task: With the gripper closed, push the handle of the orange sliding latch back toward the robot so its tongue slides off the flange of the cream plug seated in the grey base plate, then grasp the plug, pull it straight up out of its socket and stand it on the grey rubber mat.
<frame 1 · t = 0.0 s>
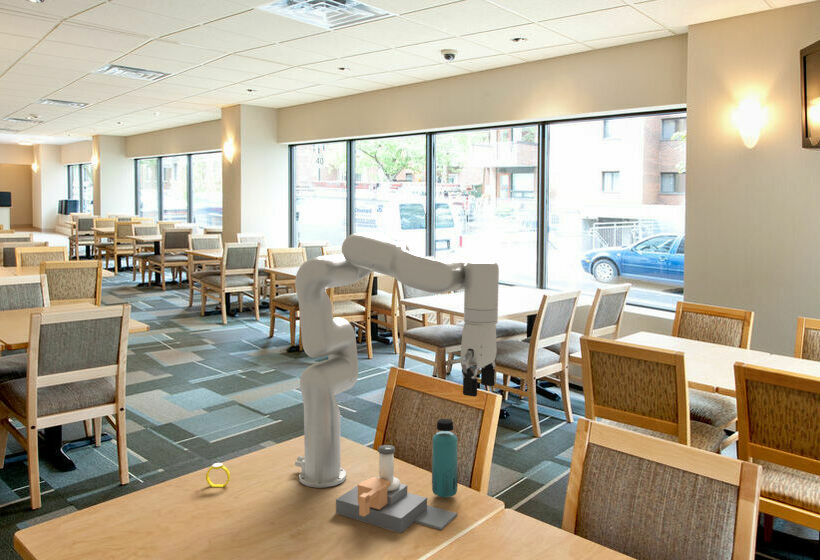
hand: (479, 390, 145), 31 cm above the table, tool pointing down, fingers open, 9 cm apart
grey base plate: (381, 512, 152), on the table
latch: (368, 495, 146), point 6 cm above the table, slide at 0.0 cm
beverage bottle: (444, 498, 160), on the table
mat: (434, 518, 149), on the table
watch: (218, 487, 165), on the table
plug: (386, 495, 153), point 3 cm above the table, touching grey base plate
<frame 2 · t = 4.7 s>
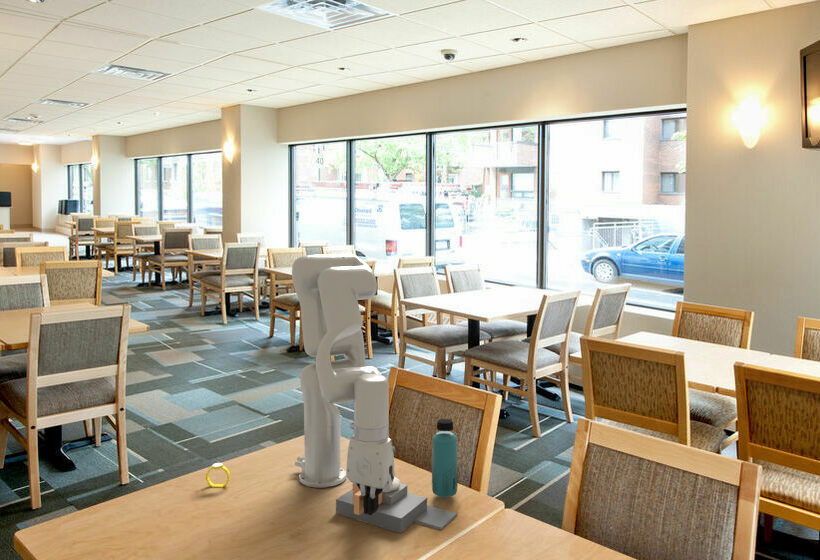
hand: (370, 511, 141), 5 cm above the table, tool pointing down, fingers closed
latch: (363, 494, 147), point 6 cm above the table, slide at 1.4 cm, touching gripper
everything else where it was.
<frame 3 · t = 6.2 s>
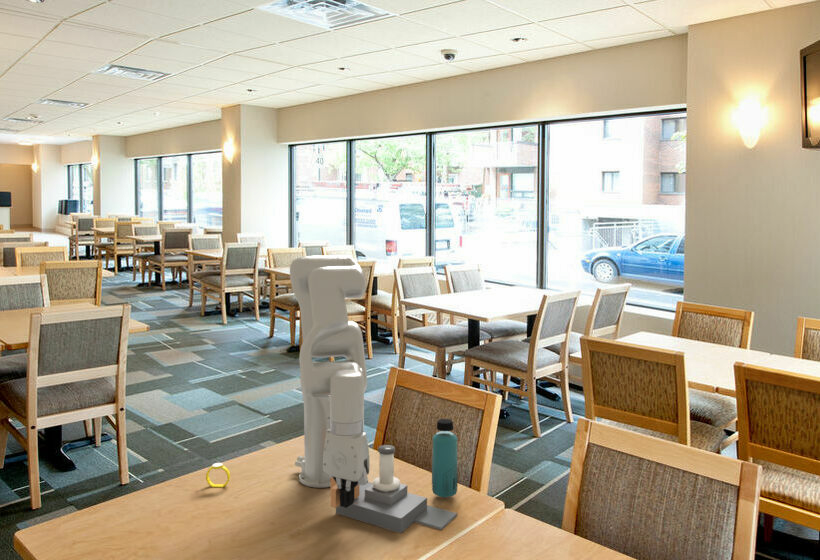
hand: (347, 504, 144), 5 cm above the table, tool pointing down, fingers closed
latch: (340, 488, 150), point 6 cm above the table, slide at 7.9 cm, touching gripper
everything else where it was.
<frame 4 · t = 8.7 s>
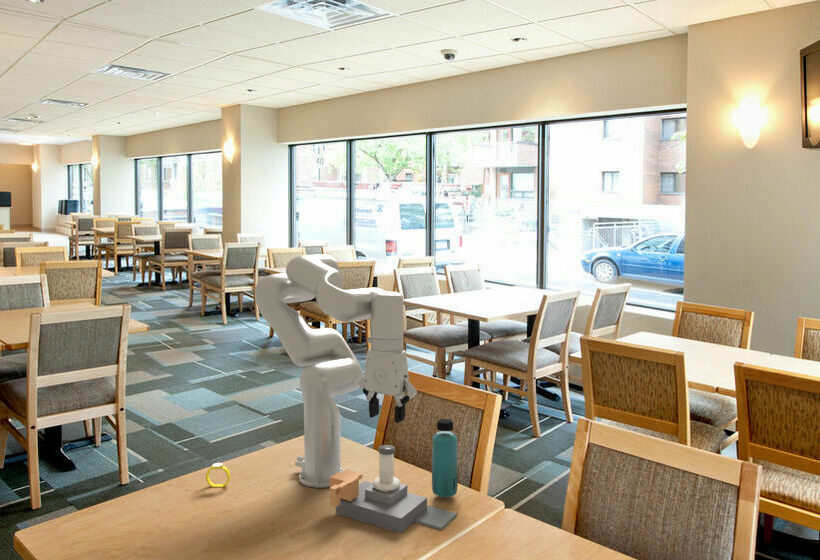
hand: (386, 418, 151), 23 cm above the table, tool pointing down, fingers open, 6 cm apart
latch: (340, 487, 150), point 6 cm above the table, slide at 8.1 cm
everything else where it was.
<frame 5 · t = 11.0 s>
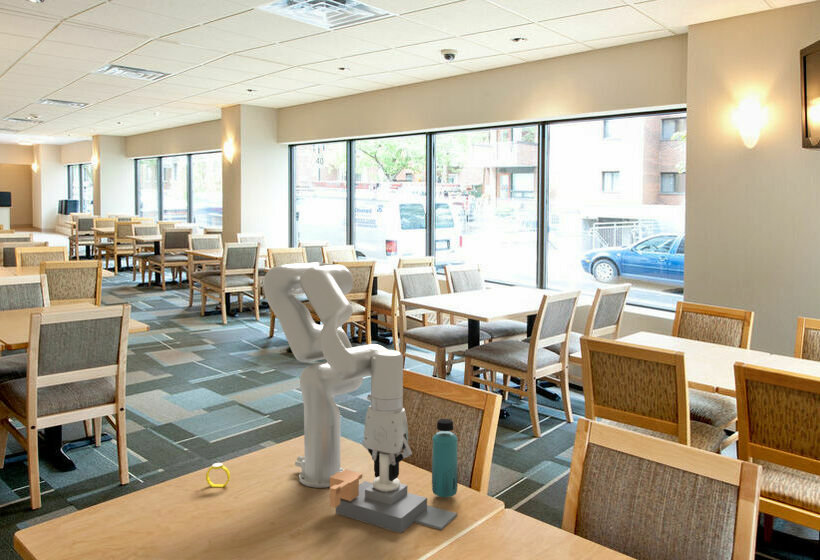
hand: (386, 476, 153), 8 cm above the table, tool pointing down, fingers closed on plug, 3 cm apart
plug: (386, 495, 153), point 3 cm above the table, touching gripper, grey base plate
everything else where it was.
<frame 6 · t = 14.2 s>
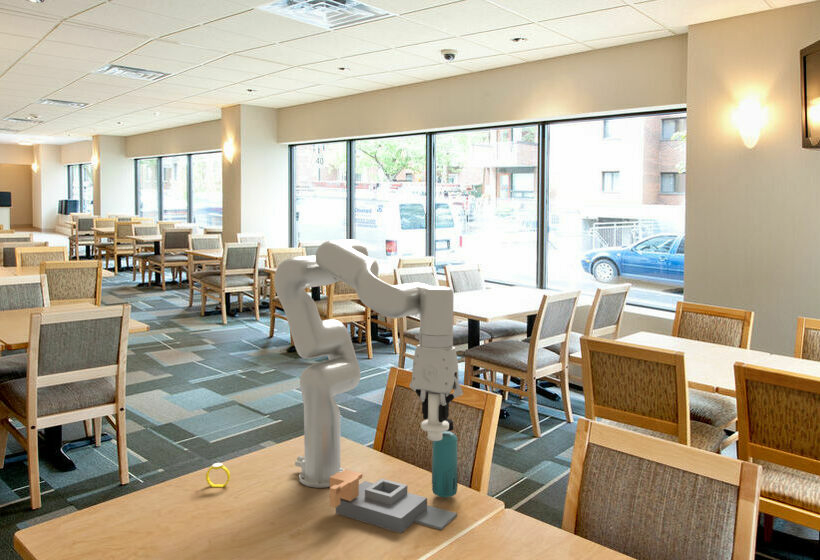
hand: (435, 418, 147), 24 cm above the table, tool pointing down, fingers closed on plug, 3 cm apart
plug: (435, 438, 147), point 19 cm above the table, touching gripper
everything else where it was.
when the fingers open (6 cm above the table, at t = 17.7 s): plug drops 1 cm, resting on mat, grey base plate.
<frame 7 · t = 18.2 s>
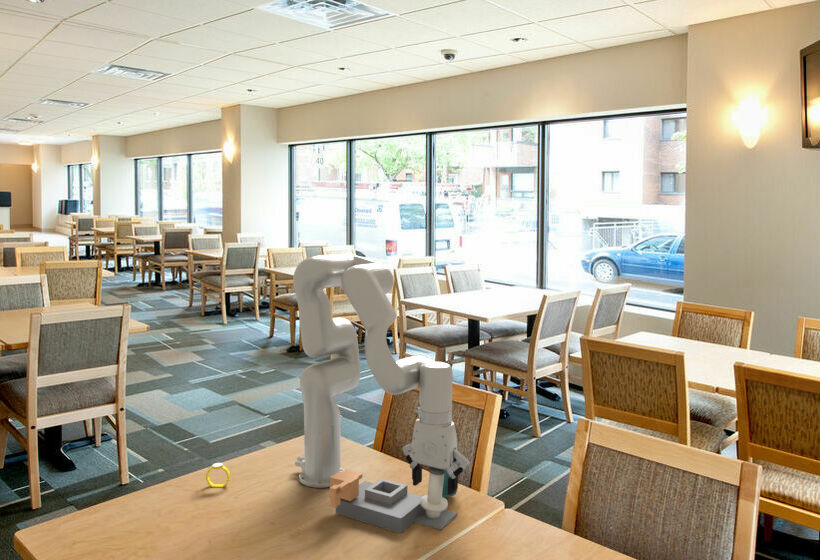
hand: (434, 487, 148), 7 cm above the table, tool pointing down, fingers open, 8 cm apart
plug: (432, 514, 149), point 1 cm above the table, tilted 5°, touching mat, grey base plate
everything else where it was.
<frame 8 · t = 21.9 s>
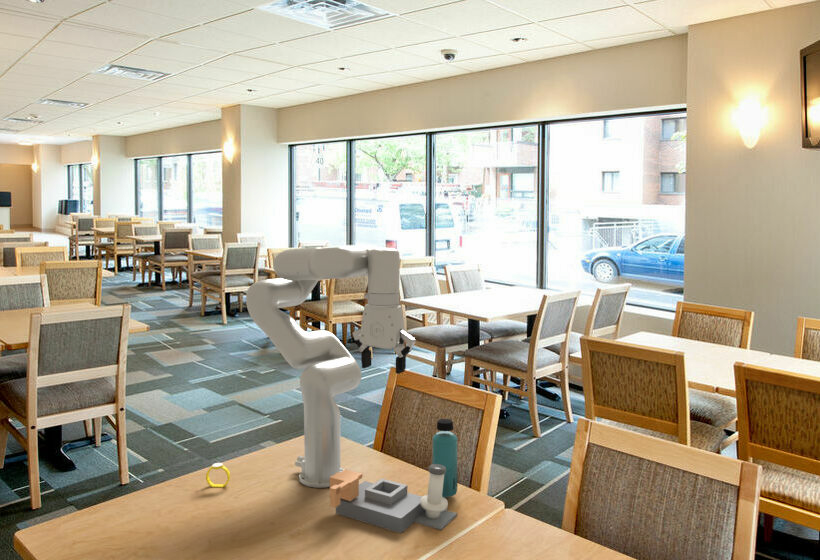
hand: (383, 369, 154), 33 cm above the table, tool pointing down, fingers open, 9 cm apart
nothing on the table moved.
at the end: latch slide at 8.1 cm; plug inside the target area on the mat (0.3 cm from its centre), point 0.8 cm above the mat's base; plug tilted 5° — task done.
